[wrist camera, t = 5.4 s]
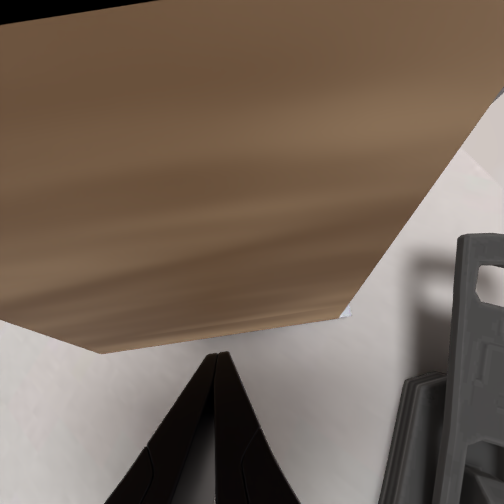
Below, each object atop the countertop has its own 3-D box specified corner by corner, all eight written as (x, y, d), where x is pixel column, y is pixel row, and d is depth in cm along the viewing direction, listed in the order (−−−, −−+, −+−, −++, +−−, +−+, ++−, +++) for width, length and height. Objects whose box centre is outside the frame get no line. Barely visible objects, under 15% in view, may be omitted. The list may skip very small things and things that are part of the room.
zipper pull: (600, 252, 16) (661, 830, 10) (503, 271, 23) (502, 629, 16) (459, 220, 17) (433, 736, 11) (404, 247, 23) (367, 580, 17)
